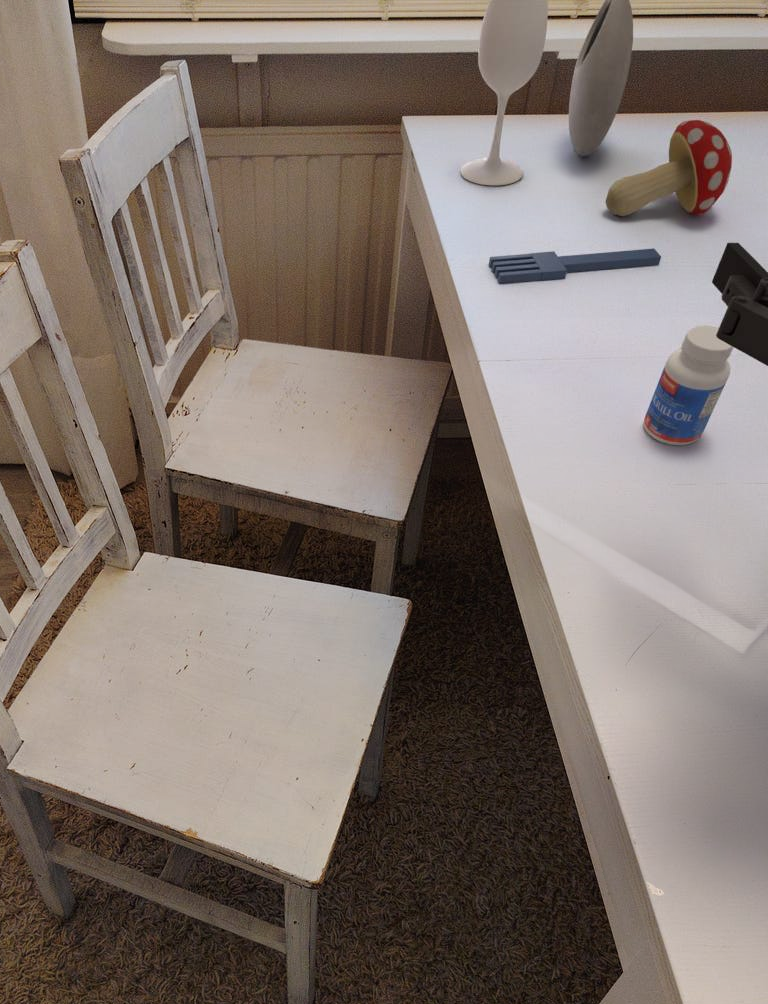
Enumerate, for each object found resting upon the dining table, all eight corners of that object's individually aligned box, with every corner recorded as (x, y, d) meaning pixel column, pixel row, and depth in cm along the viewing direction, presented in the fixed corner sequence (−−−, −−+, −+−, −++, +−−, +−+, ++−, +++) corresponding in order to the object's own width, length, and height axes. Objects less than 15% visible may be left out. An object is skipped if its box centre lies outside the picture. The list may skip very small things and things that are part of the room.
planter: (561, 126, 126) (593, -28, 112) (609, 129, 125) (648, -26, 110) (553, 175, 115) (587, 12, 101) (605, 179, 114) (648, 14, 99)
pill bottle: (630, 429, 79) (664, 336, 71) (661, 405, 81) (697, 313, 73) (682, 455, 76) (722, 361, 68) (713, 430, 78) (755, 336, 71)
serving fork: (647, 251, 101) (650, 243, 100) (663, 270, 98) (666, 261, 97) (488, 264, 100) (489, 256, 99) (499, 284, 97) (500, 275, 96)
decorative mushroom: (605, 149, 99) (736, 92, 96) (587, 168, 110) (704, 117, 106) (627, 242, 102) (755, 191, 98) (608, 253, 113) (723, 206, 109)
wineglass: (508, 157, 119) (539, -24, 103) (532, 182, 114) (568, -6, 98) (452, 164, 118) (473, -18, 102) (473, 189, 113) (499, 1, 97)
